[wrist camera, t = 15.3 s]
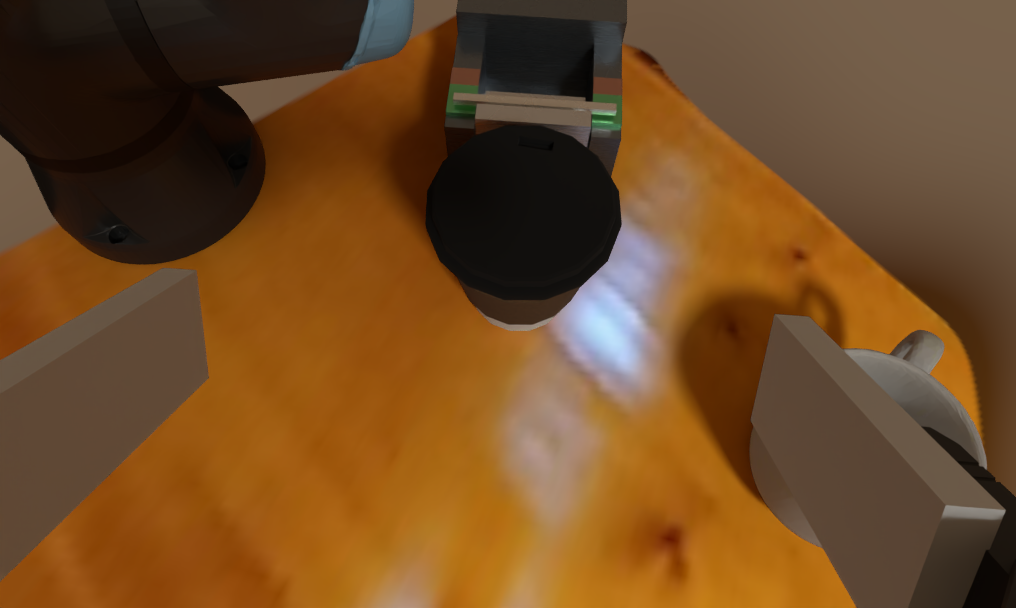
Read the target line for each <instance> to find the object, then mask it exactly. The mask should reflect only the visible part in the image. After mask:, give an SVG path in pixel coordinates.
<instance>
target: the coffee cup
mask: <svg viewBox="0 0 1016 608" xmlns="http://www.w3.org/2000/svg"><path fill="white" fill-rule="evenodd" d="M621 224H622V223H621V211H620V199H619V191H618V189H617V187H616V185H615V184H614V182H613V180H612V178H611V177H610V175H609V173H608V171H607V170H606V168H605V166H604V164H603V163H602V162H601V160H600V159H599V157H598V156H597V155H596V154H594V153H593V152H592V151H591V150H589V149H588V148H587V147H585V146H584V145H583V144H582V143H580V142H579V141H578V140H577V139H575V138H574V137H573V136H570V135H567V134H564V133H561V132H558V131H555V130H552V129H549V128H546V127H543V126H540V125H505V126H502V127H499V128H496V129H493V130H490V131H487V132H484V133H481V134H478V135H475V136H473V137H471V138H470V139H469V140H468V141H466V142H465V143H464V144H463V145H461V146H460V147H459V148H458V149H456V150H455V151H454V152H453V153H451V154H450V155H449V156H448V157H447V159H446V160H445V161H443V163H442V165H441V167H440V168H439V170H438V172H437V174H436V176H435V178H434V179H433V181H432V183H431V185H430V187H429V189H428V190H427V205H426V229H427V232H428V234H429V236H430V239H431V241H432V244H433V246H434V248H435V251H436V253H437V255H438V258H439V260H440V262H442V263H443V264H444V265H445V266H446V267H447V268H448V269H449V270H450V271H451V272H452V273H453V274H455V275H456V276H457V277H458V279H459V281H460V283H461V285H462V287H463V289H464V291H465V293H466V295H467V297H468V299H469V300H470V302H472V303H473V304H474V305H475V306H476V308H477V310H478V312H479V313H481V314H482V315H483V316H484V317H485V318H486V319H487V320H488V321H489V322H490V323H491V324H493V325H496V326H499V327H501V328H504V329H506V330H509V331H530V330H532V329H535V328H538V327H540V326H543V325H545V324H547V323H548V322H550V321H551V320H552V319H553V318H554V317H555V316H556V315H557V314H558V313H559V312H560V311H561V310H562V309H563V308H564V307H565V306H566V305H567V304H568V303H569V302H570V301H571V300H572V298H573V297H574V295H575V294H576V292H577V291H578V289H579V288H580V287H581V286H582V285H583V284H584V283H585V282H586V281H587V280H588V279H589V278H590V277H591V276H592V275H594V274H595V273H596V272H597V271H598V270H599V269H600V268H601V267H602V266H603V265H604V264H605V263H606V262H607V261H608V259H609V256H610V254H611V251H612V249H613V246H614V244H615V241H616V238H617V236H618V233H619V231H620V228H621Z"/></svg>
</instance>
